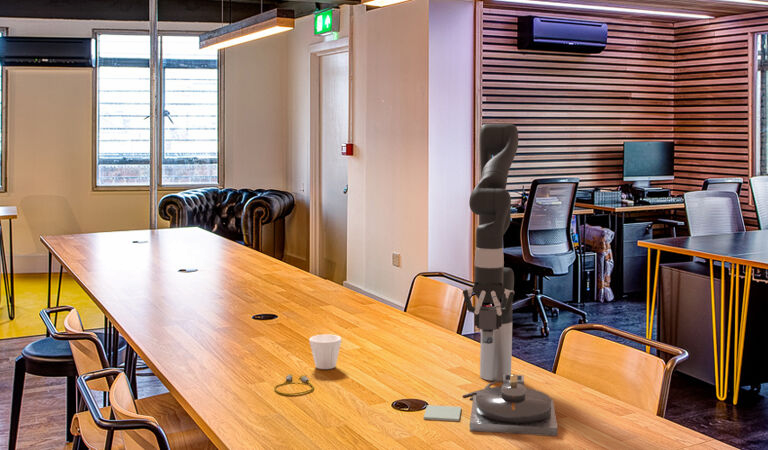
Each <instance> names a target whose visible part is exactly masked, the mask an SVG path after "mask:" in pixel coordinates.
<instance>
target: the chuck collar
mask: <svg viewBox="0 0 768 450" xmlns="http://www.w3.org/2000/svg"><path fill="white" fill-rule="evenodd" d="M524 377H525V376H524V374H516V373H514V374H513V373H511V375H510V374H503V381H502V384H501V385H500V386H494V387H493V386H492V387H489V388H487V389H484V388H483V389H484V390H482V389H480V390H481V391H480V392H478V393H477V394H476V410H477V412H478V413H479V414H481V415H482V416H484V417H487V418H489V419H493V420H497V421H502V422H510V423H529V422H536V421H540V420H543V419H545V418H547V417H549V416H550V414H551V399H552V398H551V397H550V396H549V395H548V394H547V393H544V392H543V391H540V390H538V389H537V390H536V389H534V388H529V387H526V385H525V378H524Z"/></svg>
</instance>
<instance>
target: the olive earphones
mask: <svg viewBox="0 0 768 450" xmlns="http://www.w3.org/2000/svg"><path fill="white" fill-rule="evenodd" d="M299 379H300V380H301V381H300V380H299ZM291 380H292V381H293V374H292V373H289V374H287V376H286V377H285V381H284V382H282V383H280V384H277V385H275V386H274V392H275V393H276V394H278V395H281V396H287V397H298V396H304V395H307V394H309V393H312V392H314V391H315V387H314V386H313V384H312V383H311V382H310V379H309V377H307V375H306V374H302V375H300V376H299V377H298V380H299V381H300V382H297V383H298V385H304V384H306V385H305V386H309V387H311V386H312V387H311V389H308V390H305V391H302V392H301V391H300V392H293V393H291V392H290V393H289V392H288V393H287V392H281V391H279V390H277V388H278V387H279V386H283V385H284V384H285V385H290V383H292V384H295V383H296V382H292V381H291ZM302 381H303V382H302ZM304 382H305V383H304ZM300 383H301V384H300ZM285 385H284V386H285Z"/></svg>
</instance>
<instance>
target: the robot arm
mask: <svg viewBox="0 0 768 450" xmlns="http://www.w3.org/2000/svg"><path fill="white" fill-rule="evenodd" d="M479 130H480V131H479V161H480V163H479V166H480V172H479V173H480V180H479V182H478V183H477V184H476V186H475V187H474V189H473V190H472V191H471V194H470V196H469V200H468V201H469V208H470V210H471V212H472V213H473V214H475V215H477V216H478V226H477V227H476V231H475V253H474V262H473V263H474V278H473V279H474V284H473V286H472V287H470V288H464V289H463V290H462V294H463V295H462V296H463V298H464V302H465V305H466V309H467V312H469V313H472V314H474V326H475V327H476V328H477V329H479V309H480V308H481V307H482V305H483V304H485V303H488V304H489V303H490V304H494V306H493V307H495V308H496V310H497V322H496V330H494V337H493V343H490V344H487V343H482V329H480V353H479V354H480V360H479V362H480V363H479V364H480V365H479V367H480V368H479V375H480V378H481V379H483V380H486V381H490V382H494V381H502V382H503V374H510V375H511V374H512V359H513V358H512V351H513V350H512V349H513V305H514V303H513V300H514V298H515V297H514V296H515V291H514V289H515V288H514V287H515V274H514V271H513V269H512V268H511V267H505V266H504V264H505V261H504V257H505V256H504V248H503V247H504V235H505V234H506V232H507V230H508V228H509V227H510V224H511V216H512V215H511V214H512V213H511V211H512V210H511V209H512V196H511V194H510V192H509V191H508V190H507V189H506V188H507V183H508V176H509V171H510V168H511V167H512V164H513V161H514V159H515V157H516V154H517V150H518V146H519V130H518V128H517V126H516V125H515V124H512V123H484V124H482V125H481V127H480V129H479ZM492 156H494V157H492ZM472 294H475V297H476V298H477V303H476V305H475V306H473V304H472V299H471V297H472ZM500 300H501V302H500Z"/></svg>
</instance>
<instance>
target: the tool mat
mask: <svg viewBox="0 0 768 450" xmlns="http://www.w3.org/2000/svg"><path fill="white" fill-rule="evenodd" d="M461 412H462V406H454V405H452V406H451V405H448V406H447V405H433V404H430V405H429V404H427V405H426V408H425V412H424V414H423V420H429V421H430V420H433V421H448V422H449V421H450V422H460V418H461V417H460V416H461Z"/></svg>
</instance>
